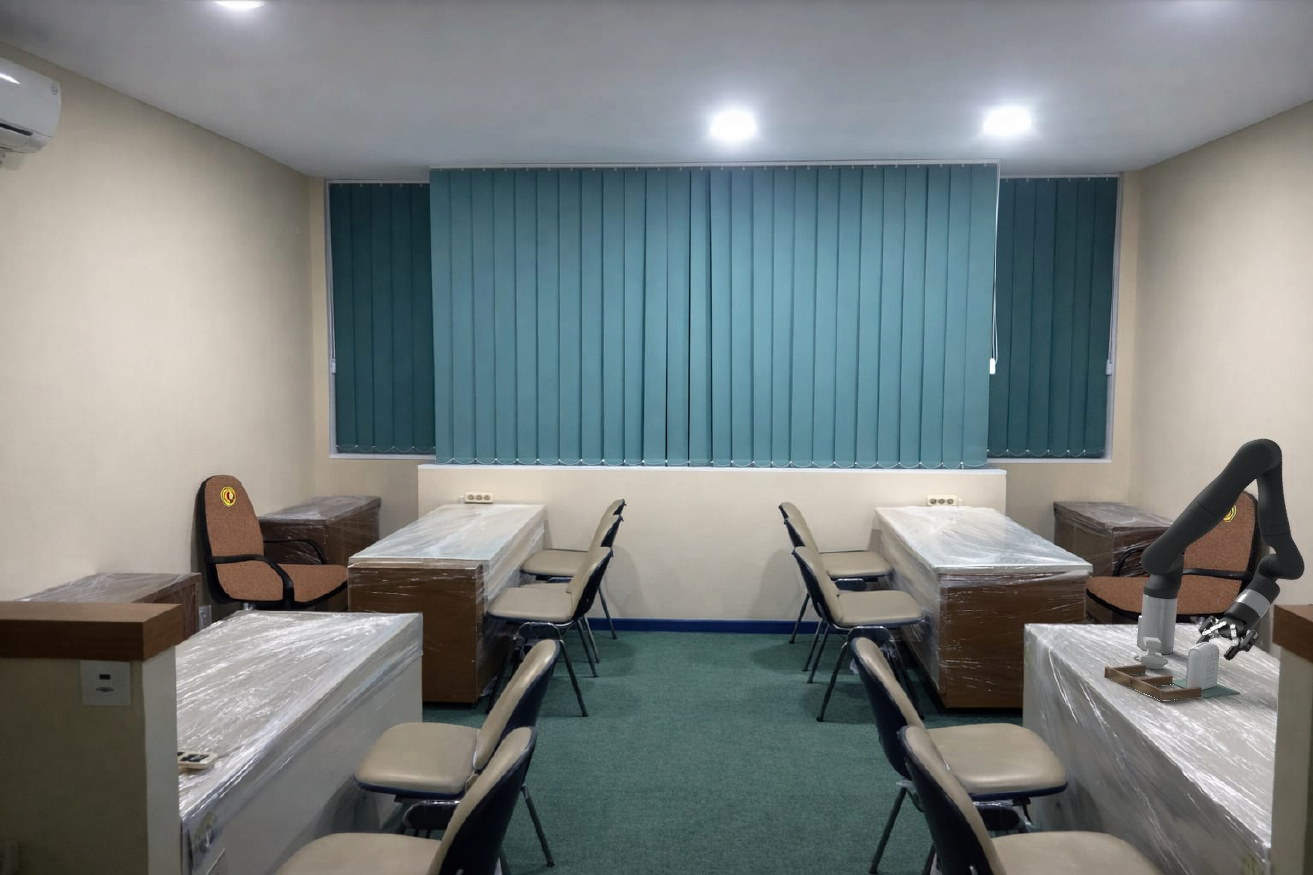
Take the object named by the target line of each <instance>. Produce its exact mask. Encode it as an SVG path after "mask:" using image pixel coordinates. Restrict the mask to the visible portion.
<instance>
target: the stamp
mask: <svg viewBox="0 0 1313 875" xmlns="http://www.w3.org/2000/svg"><path fill="white" fill-rule="evenodd" d="M1143 641H1144V644H1145V646H1146V648H1148V650H1147V651H1145V650H1142V649H1139V650H1137V652H1136V655H1134V656H1133V660H1134V661H1136V662H1139V663H1140V664H1144V665H1146V669H1150V670H1161V669H1163V667H1164V666H1165V665H1168V664H1169V660H1168V659H1167V658H1165V657H1164V656H1163V654H1161V653H1157V652H1155V651H1156V649H1160V647H1161V642H1160V640H1159V639H1158V638H1151V637H1143Z"/></svg>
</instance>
